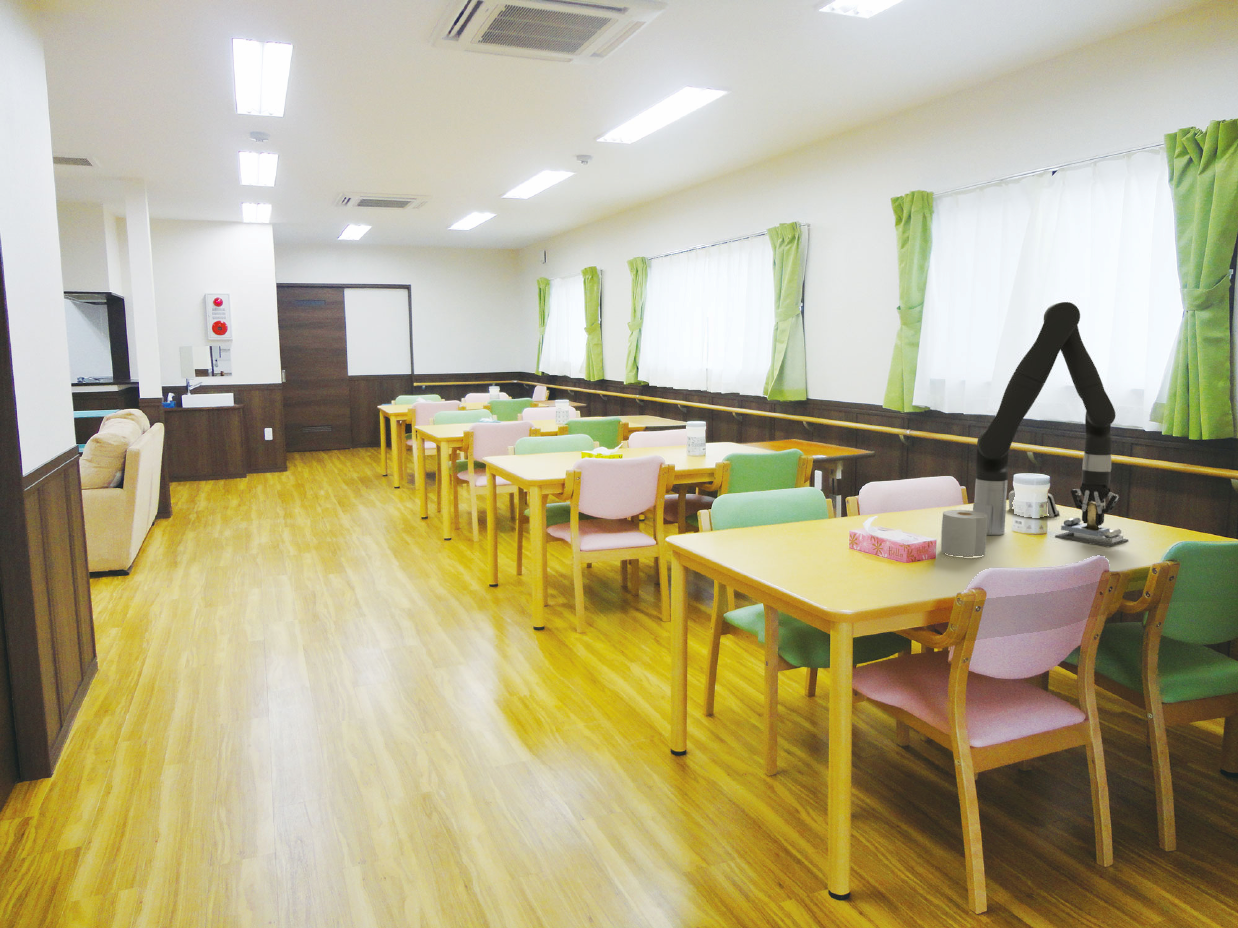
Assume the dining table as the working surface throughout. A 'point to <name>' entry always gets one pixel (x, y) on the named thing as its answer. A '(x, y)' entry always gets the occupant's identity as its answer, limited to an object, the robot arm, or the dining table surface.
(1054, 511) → the hinge
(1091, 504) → the brass pin
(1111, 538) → the grey clamping fixture
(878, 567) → the dining table surface
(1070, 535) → the rubber mat
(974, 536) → the toilet paper roll
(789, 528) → the dining table surface
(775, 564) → the dining table surface
